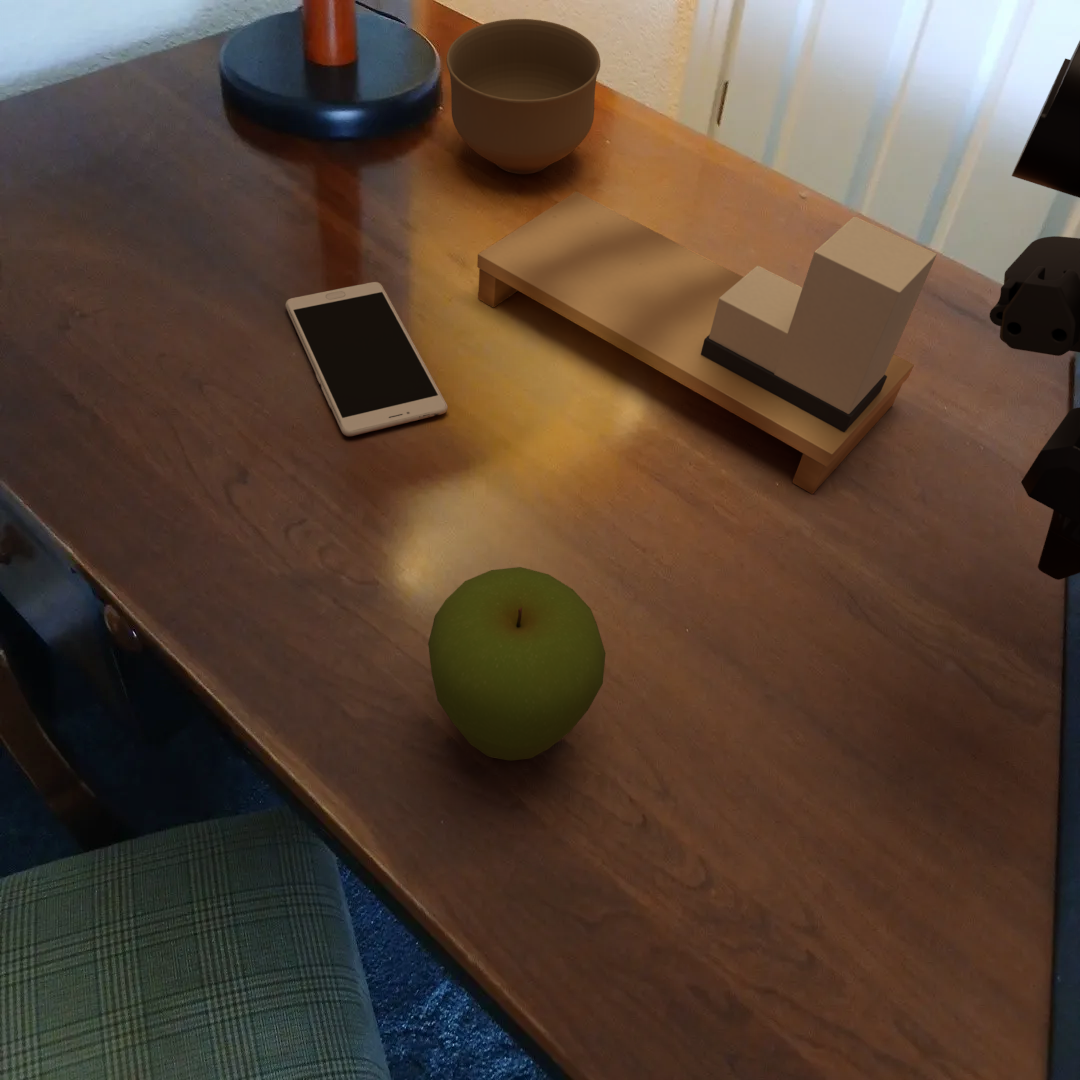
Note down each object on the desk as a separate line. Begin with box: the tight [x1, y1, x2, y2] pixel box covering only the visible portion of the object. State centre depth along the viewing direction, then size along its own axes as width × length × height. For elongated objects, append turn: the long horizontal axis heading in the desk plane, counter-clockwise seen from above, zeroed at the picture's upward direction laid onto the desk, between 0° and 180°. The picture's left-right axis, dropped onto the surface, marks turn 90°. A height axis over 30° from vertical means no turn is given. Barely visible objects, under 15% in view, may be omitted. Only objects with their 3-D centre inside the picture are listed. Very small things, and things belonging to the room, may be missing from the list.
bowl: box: [445, 18, 601, 175], centre depth 89 cm, size 13×13×10 cm
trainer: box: [701, 215, 938, 432], centre depth 67 cm, size 11×5×11 cm, turn 52°
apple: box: [427, 566, 606, 762], centre depth 52 cm, size 9×8×12 cm
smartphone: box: [285, 281, 449, 437], centre depth 75 cm, size 8×1×15 cm
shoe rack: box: [476, 190, 915, 495], centre depth 77 cm, size 30×12×4 cm, turn 51°
